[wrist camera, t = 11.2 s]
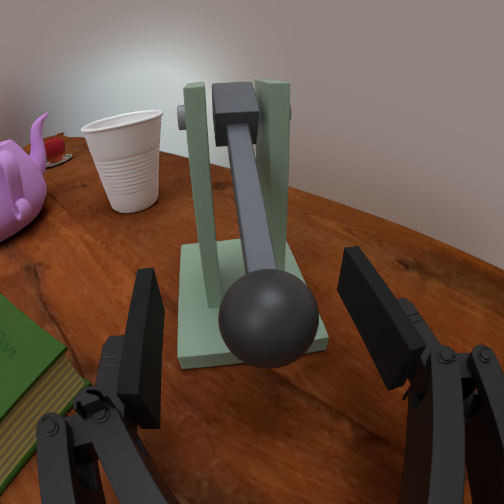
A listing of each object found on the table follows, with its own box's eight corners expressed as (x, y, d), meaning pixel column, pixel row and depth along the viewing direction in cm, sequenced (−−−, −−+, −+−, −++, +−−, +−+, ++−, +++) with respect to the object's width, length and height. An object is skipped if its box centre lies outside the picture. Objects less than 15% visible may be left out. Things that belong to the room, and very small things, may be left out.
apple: (57, 167, 56) (51, 139, 52) (35, 170, 57) (29, 144, 54) (78, 155, 63) (74, 129, 59) (56, 158, 64) (52, 133, 60)
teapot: (104, 191, 42) (88, 100, 34) (-12, 277, 25) (-55, 160, 17) (32, 186, 48) (17, 118, 40) (-54, 245, 31) (-80, 168, 23)
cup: (189, 198, 38) (180, 110, 32) (120, 231, 32) (99, 131, 25) (147, 182, 43) (137, 109, 37) (87, 208, 37) (70, 129, 31)
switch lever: (313, 364, 12) (342, 352, 9) (225, 377, 12) (223, 371, 8) (260, 119, 18) (265, 72, 15) (201, 123, 18) (198, 75, 14)
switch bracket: (326, 350, 19) (365, 93, 10) (181, 369, 18) (121, 102, 9) (283, 246, 28) (286, 76, 20) (183, 256, 27) (161, 84, 19)
